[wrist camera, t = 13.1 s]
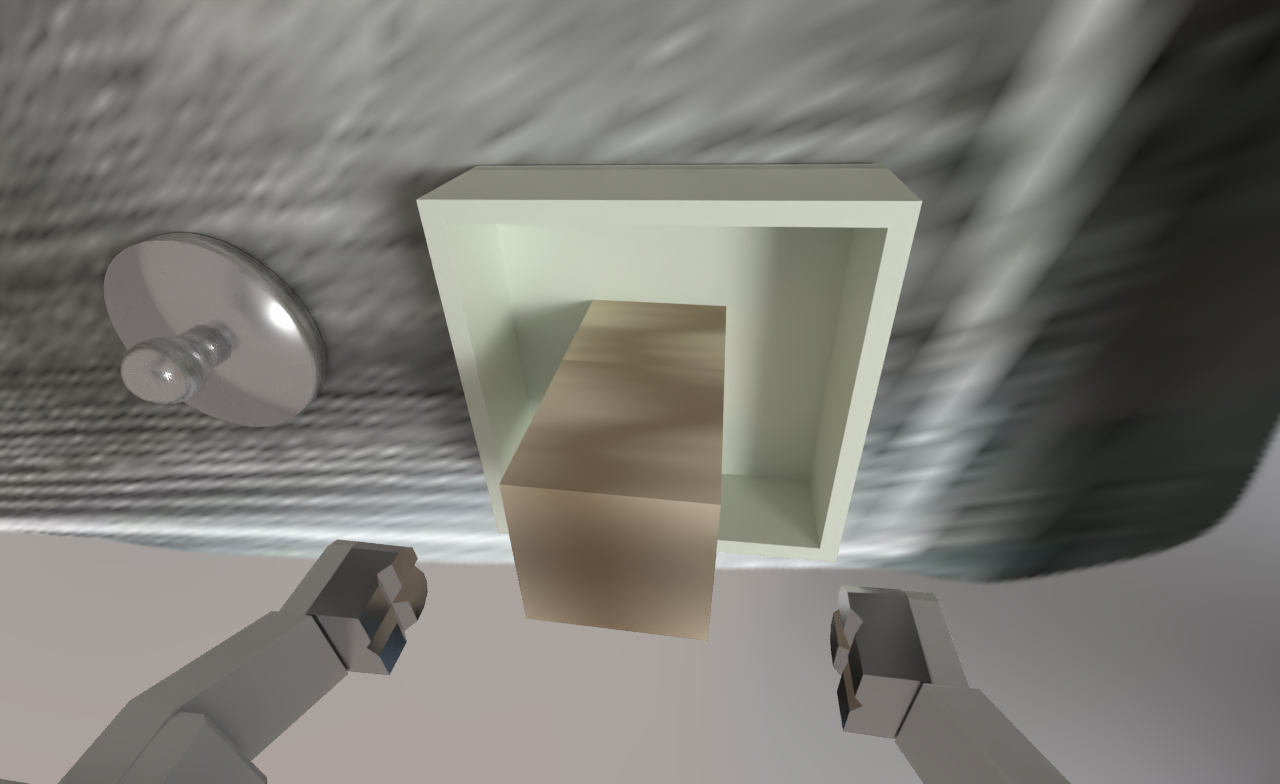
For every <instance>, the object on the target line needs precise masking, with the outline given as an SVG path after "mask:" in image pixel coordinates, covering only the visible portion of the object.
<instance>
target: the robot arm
mask: <svg viewBox="0 0 1280 784" xmlns="http://www.w3.org/2000/svg"><path fill="white" fill-rule="evenodd" d="M417 559H418V558H417V556H416V554H415V552H414V550H413V548H411V547H402V546H393V545H384V544H375V543H366V542H358V541H347V540H336V541H335V542H333V543H332V544H330V545H329V546H328V547H327V548H326V549H325V551H324V552H323V553H322V555H321V556H320V557H319V559H318V560H317V561H316V563H315V564H314V565H313V567H312V568H311V569H310V571H309V572H308V573H307V575H306V576H305V577H304V579H303V580H302V581H301V583H300V584H299V585H298V587H297V588H296V589H295V591H294V592H293V593H292V595H291V596H290V597H289V599H288V600H287V601H286V603H285V604H284V605H283V607H282V608H281V609H280V611H279V612H276V611H271V612H270V613H268V614H266V615H265V616H263V617H262V618H260V619H258V620H257V621H255V622H254V623H252V624H251V625H249V626H247V627H246V628H244V629H243V630H241V631H240V632H238V633H236V634H235V635H233V636H232V637H230V638H229V639H227V640H225V641H224V642H222V643H221V644H219V645H217V646H216V647H214V648H213V649H211V650H210V651H208V652H206V653H205V654H203V655H201V656H200V657H198V658H197V659H195V660H194V661H192V662H191V663H189V664H187V665H186V666H184V667H183V668H181V669H180V670H178V671H176V672H175V673H173V674H171V675H170V676H168V677H167V678H165V679H164V680H162V681H160V682H159V683H157V684H156V685H154V686H152V687H151V688H150V689H148V690H146V691H145V692H143V693H141V694H140V695H138V696H137V697H135V698H134V699H132V700H130V701H129V702H128V703H127V704H126V706H125V707H124V708H123V709H122V710H121V712H120V713H119V714H118V715H117V716H116V717H115V719H114V720H113V721H112V722H111V723H110V724H109V725H108V726H107V728H106V729H105V730H104V731H103V732H102V733H101V735H100V736H99V737H98V738H97V739H96V740H95V741H94V743H93V744H92V745H91V746H90V747H89V748H88V749H87V751H86V752H85V753H84V754H83V755H82V756H81V758H80V759H79V760H78V761H77V762H76V764H74V766H73V767H72V768H71V769H70V770H69V771H68V773H67V774H66V775H65V776H64V777H63V778H62V779H61V781H60V782H59V783H58V784H267V777H266V776H265V775H264V774H263V773H262V772H261V771H260V770H259V769H258V768H257V767H256V766H255V765H254V764H253V763H252V762H251V761H252V760H253V759H254V758H255V757H256V756H257V755H258V754H259V753H260V752H262V751H263V750H264V749H265V748H266V747H267V746H268V745H269V744H270V743H272V742H273V741H274V740H275V739H276V738H277V737H278V736H279V735H281V734H282V733H283V732H284V731H285V730H286V729H287V728H288V727H290V726H291V725H292V724H293V723H294V722H295V721H296V720H297V719H298V718H300V716H302V715H303V714H304V713H305V712H306V711H307V710H308V709H310V708H311V707H312V706H313V705H314V704H315V703H316V702H317V701H318V700H320V699H321V698H322V697H323V696H324V695H325V694H326V693H327V692H328V691H330V690H331V689H332V688H333V687H334V686H335V685H336V684H337V683H338V682H340V681H341V680H342V679H343V678H344V677H345V676H346V675H347V674H348V672H347V671H351V672H362V673H374V674H384V675H390V673H391V671H392V669H393V667H394V666H395V663H396V662H397V660H398V658H399V656H400V654H401V652H402V650H403V648H404V646H405V644H406V636H405V630H406V629H407V628H409V627H410V626H411V625H413V624H414V623H415V622H416V621H418V619H419V617H420V615H421V613H422V610H423V608H424V605H425V601H426V597H427V592H428V591H427V580H426V578H425V576H424V573H423V572H421V571H420V570H419V569H418V568H417V567H415V566H414V564H415V562H416V561H417ZM838 603H839V610H837V611H835V612H834V613H833V617H832V622H831V632H830V633H831V634H830V645H831V655H832V663H833V666H834V668H835V669H836V670H837V672H838V673H839V674H840V675H841V679H840V682H839V686H838V689H837V696H838V702H839V709H840V715H841V721H842V728H843V731H845V732H852V733H859V734H865V735H872V736H878V737H885V738H892V739H896V740H895V743H896V744H897V746H898V747H899V749H900V750H901V751H902V753H903V754H904V756H905V757H906V759H907V760H908V762H909V763H910V765H911V766H912V767H913V769H914V770H915V772H916V773H917V775H918V776H919V778H920V779H921V780H922V782H923V783H924V784H1070V782H1069V781H1068V780H1067V779H1066V778H1065V777H1064V776H1063V775H1062V774H1061V773H1060V772H1059V771H1058V770H1057V769H1056V768H1055V767H1054V766H1053V765H1052V764H1051V763H1050V762H1049V761H1048V760H1047V759H1046V758H1045V757H1044V756H1043V755H1042V754H1041V753H1040V752H1039V750H1038V749H1036V747H1035V746H1034V745H1033V744H1032V743H1031V742H1030V741H1029V740H1028V739H1027V738H1026V737H1025V736H1024V735H1023V734H1022V733H1021V732H1020V731H1019V730H1018V729H1017V728H1016V727H1015V726H1014V725H1013V724H1012V723H1011V722H1010V721H1009V720H1008V719H1007V718H1006V717H1005V716H1004V715H1003V713H1002V712H1001V711H1000V710H998V708H996V707H995V705H994V704H993V703H992V702H991V701H990V700H989V699H988V698H987V697H986V696H985V695H984V694H983V693H982V692H981V691H980V690H978V689H972V688H969V686H968V683H967V680H966V677H965V675H964V671H963V668H962V666H961V663H960V660H959V657H958V654H957V651H956V649H955V646H954V643H953V640H952V637H951V634H950V631H949V629H948V626H947V623H946V620H945V617H944V614H943V611H942V609H941V606H940V603H939V600H938V599H937V598H936V596H935V595H934V594H932V593H924V592H910V591H900V590H897V589H884V588H870V587H857V586H842V587H841V588H840V591H839V595H838ZM0 784H27V783H21V782H16V781H9V780H4V779H0Z"/></svg>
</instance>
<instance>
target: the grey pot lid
mask: <svg viewBox="0 0 1280 784" xmlns="http://www.w3.org/2000/svg"><path fill="white" fill-rule="evenodd" d="M104 299H105V304H106V309H107V312H108V314H109V317H110V320H111V323H112V325H113V327H114V329H115V331H116V333H117V335H118V336H119V338H120V340H121V341H122V343H123V345H124V346H125V347H126V349H127V350H128V351H127V353H126V354H125V355H124V357H123V359H122V362H121V366H120V373H121V378H122V380H123V382H124V384H125V386H126V387H127V388H128V389H129V390H130V391H131V392H132V393H133V394H134V395H136V396H137V397H139V398H141V399H143V400H145V401H148V402H152V403H156V404H175V403H180V402H184V403H186V404H188V405H189V406H191V407H193V408H195V409H197V410H198V411H201V412H203V413H205V414H207V415H209V416H211V417H214V418H217V419H220V420H222V421H225V422H229V423H233V424H237V425H242V426H250V427H269V426H274V425H279V424H282V423H285V422H287V421H289V420H290V419H292V418H294V417H295V416H296V415H297V414H299V413H300V412H301V411H302V410H303V409H304V408H305V407H306V406H308V405H309V404H310V403H311V402H312V401H313V400H314V399H315V398H316V397H317V396H318V394H319V393H320V392H321V390H322V388H323V385H324V383H325V379H326V375H327V358H326V352H325V348H324V343H323V340H322V338H321V335H320V333H319V330H318V328H317V326H316V324H315V322H314V320H313V318H312V317H311V315H310V314H309V312H308V311H307V309H306V307H305V306H304V305H303V303H302V302H301V301H300V300H299V298H298V297H297V296H296V294H295V293H294V292H293V291H292V290H291V289H290V288H289V287H288V286H287V285H286V284H285V283H284V282H283V281H282V280H281V279H280V278H279V277H278V276H277V275H276V274H275V273H273V272H272V271H271V270H270V269H268V268H267V267H266V266H265V265H263V264H262V263H261V262H259V261H258V260H256V259H255V258H253V257H251V256H250V255H248V254H247V253H245V252H243V251H241V250H239V249H237V248H236V247H234V246H232V245H229V244H227V243H224V242H222V241H219V240H217V239H214V238H210V237H207V236H203V235H197V234H191V233H170V234H164V235H160V236H157V237H154V238H152V239H149V240H146V241H143V242H141V243H138V244H135V245H133V246H130V247H128V248H126V249H125V250H123V251H121V252H120V253H119V254H118V255H117V256H116V257H114V258H113V260H112V261H111V263H110V265H109V266H108V269H107V271H106V274H105V279H104Z"/></svg>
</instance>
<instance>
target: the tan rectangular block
mask: <svg viewBox="0 0 1280 784" xmlns="http://www.w3.org/2000/svg"><path fill="white" fill-rule="evenodd" d="M725 338H726V306H713V305H693V304H672V303H652V302H631V301H611V300H593V301H592V303H591V305H590V307H589V309H588V311H587V313H586V315H585V317H584V319H583V321H582V323H581V325H580V327H579V329H578V331H577V333H576V335H575V336H574V338H573V340H572V342H571V344H570V346H569V348H568V350H567V352H566V354H565V356H564V358H563V360H562V362H561V364H560V366H559V368H558V370H557V372H556V374H555V376H554V378H553V380H552V382H551V384H550V385H549V387H548V389H547V391H546V393H545V395H544V397H543V399H542V401H541V403H540V405H539V407H538V409H537V411H536V413H535V415H534V417H533V419H532V421H531V423H530V425H529V427H528V429H527V431H526V433H525V435H524V436H523V438H522V440H521V442H520V444H519V446H518V448H517V450H516V452H515V454H514V456H513V458H512V460H511V462H510V464H509V466H508V468H507V470H506V472H505V474H504V476H503V478H502V480H501V482H500V484H499V487H500V492H501V497H502V501H503V506H504V511H505V516H506V521H507V526H508V531H509V536H510V541H511V546H512V551H513V555H514V560H515V565H516V570H517V575H518V580H519V585H520V590H521V595H522V600H523V605H524V609H525V614H526V618H527V619H535V620H543V621H551V622H559V623H567V624H576V625H584V626H593V627H601V628H608V629H609V628H610V629H616V630H625V631H633V632H641V633H650V634H657V635H665V636H674V637H682V638H691V639H698V640H706V641H708V634H709V623H710V613H711V602H712V592H713V581H714V571H715V561H716V550H717V540H718V529H719V519H720V509H721V482H722V446H723V410H724V374H725Z"/></svg>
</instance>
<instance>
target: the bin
mask: <svg viewBox="0 0 1280 784" xmlns="http://www.w3.org/2000/svg"><path fill="white" fill-rule="evenodd" d="M416 201H417V205H418V209H419V213H420V217H421V221H422V225H423V229H424V233H425V237H426V241H427V245H428V249H429V253H430V258H431V262H432V266H433V270H434V274H435V278H436V282H437V286H438V290H439V294H440V298H441V302H442V306H443V310H444V314H445V318H446V322H447V326H448V330H449V334H450V338H451V342H452V346H453V350H454V354H455V358H456V362H457V366H458V370H459V375H460V379H461V383H462V387H463V391H464V395H465V399H466V403H467V407H468V411H469V415H470V419H471V423H472V427H473V431H474V435H475V439H476V443H477V447H478V451H479V455H480V459H481V463H482V467H483V471H484V475H485V479H486V483H487V488H488V492H489V496H490V500H491V504H492V508H493V512H494V516H495V520H496V524H497V528H498V532H499V533H509V531H508V526H507V521H506V516H505V511H504V506H503V501H502V497H501V492H500V487H499V484H500V482H501V480H502V478H503V476H504V474H505V472H506V470H507V468H508V466H509V464H510V462H511V460H512V458H513V456H514V454H515V452H516V450H517V448H518V446H519V444H520V442H521V440H522V438H523V436H524V435H525V433H526V431H527V429H528V427H529V425H530V423H531V421H532V419H533V417H534V415H535V413H536V411H537V409H538V407H539V405H540V403H541V401H542V399H543V397H544V395H545V393H546V391H547V389H548V387H549V385H550V384H551V382H552V380H553V378H554V376H555V374H556V372H557V370H558V368H559V366H560V364H561V362H562V360H563V358H564V356H565V354H566V352H567V350H568V348H569V346H570V344H571V342H572V340H573V338H574V336H575V335H576V333H577V331H578V329H579V327H580V325H581V323H582V321H583V319H584V317H585V315H586V313H587V311H588V309H589V307H590V305H591V303H592V301H593V300H611V301H631V302H652V303H672V304H693V305H713V306H726V338H725V374H724V410H723V446H722V482H721V509H720V519H719V529H718V540H717V550H716V552H725V553H737V554H748V555H760V556H771V557H782V558H794V559H805V560H817V561H828V562H836V558H837V554H838V550H839V546H840V541H841V537H842V533H843V529H844V525H845V521H846V516H847V512H848V508H849V504H850V500H851V496H852V491H853V487H854V483H855V479H856V475H857V471H858V467H859V462H860V458H861V454H862V450H863V446H864V442H865V437H866V433H867V429H868V425H869V421H870V417H871V412H872V408H873V404H874V400H875V396H876V392H877V387H878V383H879V379H880V375H881V371H882V367H883V362H884V358H885V354H886V350H887V346H888V342H889V337H890V333H891V329H892V325H893V321H894V317H895V312H896V308H897V304H898V300H899V296H900V292H901V287H902V283H903V279H904V275H905V271H906V267H907V262H908V258H909V254H910V250H911V246H912V242H913V237H914V233H915V229H916V225H917V221H918V217H919V213H920V208H921V204H922V200H921V199H919V198H918V197H917V196H916V195H915V194H914V193H913V192H912V191H911V190H910V189H909V188H908V187H907V186H906V185H905V184H904V183H903V182H901V181H900V180H899V179H898V178H897V177H896V176H895V175H894V174H893V173H892V172H891V171H890V170H889V169H888V168H887V167H886V166H885V165H884V164H711V165H532V166H476V167H474V168H472V169H470V170H469V171H467V172H465V173H463V174H461V175H460V176H458V177H456V178H454V179H452V180H451V181H449V182H447V183H445V184H443V185H442V186H440V187H438V188H436V189H434V190H432V191H431V192H429V193H427V194H425V195H423V196H422V197H420V198H418V199H416Z"/></svg>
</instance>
